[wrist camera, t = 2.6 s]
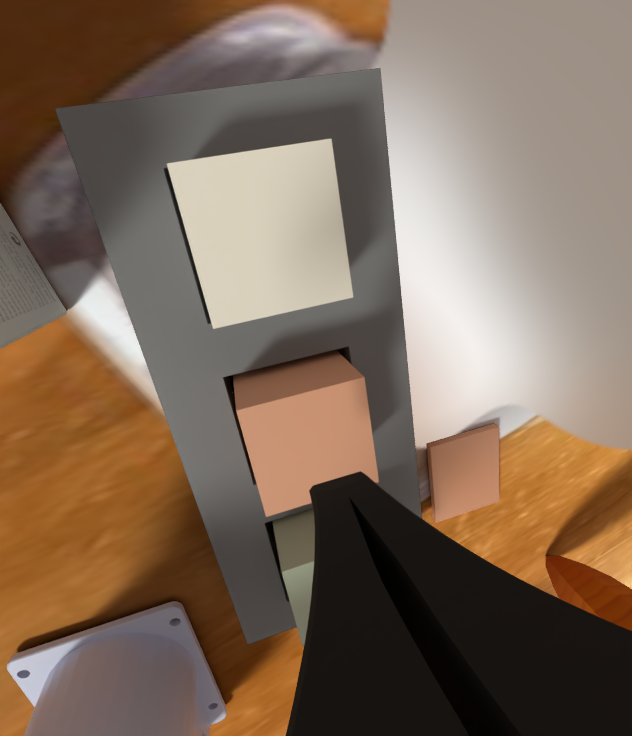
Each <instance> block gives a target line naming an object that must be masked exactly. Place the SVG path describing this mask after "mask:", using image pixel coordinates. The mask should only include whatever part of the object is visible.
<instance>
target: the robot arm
mask: <svg viewBox="0 0 632 736" xmlns="http://www.w3.org/2000/svg"><path fill="white" fill-rule="evenodd" d="M309 493H310V497H311V502H312V506H313V511H314V523H315V553H314V570H313V582H312V594H311V603H310V611H309V619H308V626H307V632H306V638H305V645H304V651H303V656H302V662H301V667H300V672H299V677H298V682H297V687H296V692H295V697H294V702H293V706H292V711H291V716H290V720H289V724H288V729H287V733H286V736H632V631H631V630H628V629H626V628H623V627H621V626H618V625H616V624H614V623H611V622H609V621H607V620H605V619H602V618H600V617H598V616H596V615H594V614H591V613H589V612H587V611H585V610H583V609H581V608H578V607H576V606H574V605H572V604H570V603H568V602H565V601H563V600H561V599H559V598H557V597H554V596H552V595H550V594H548V593H546V592H544V591H542V590H540V589H538V588H536V587H534V586H532V585H530V584H528V583H526V582H524V581H522V580H520V579H518V578H517V577H515V576H513V575H511V574H509V573H507V572H506V571H504V570H502V569H500V568H498V567H497V566H495V565H493V564H491V563H489V562H488V561H486V560H484V559H483V558H481V557H479V556H478V555H476V554H474V553H473V552H471V551H469V550H468V549H466V548H465V547H463V546H461V545H460V544H458V543H457V542H455V541H454V540H452V539H451V538H449V537H447V536H446V535H444V534H443V533H441V532H440V531H439V530H437V529H436V528H434V527H433V526H431V525H430V524H428V523H427V522H426V521H424V520H423V519H422V518H420V517H419V516H417V515H416V514H415V513H413V512H412V511H410V510H409V509H408V508H406V507H405V506H404V505H402V504H401V503H400V502H399V501H397V500H396V499H395V498H393V497H392V496H391V495H390V494H388V493H387V492H386V491H385V490H384V489H382V488H381V487H380V486H379V485H377V484H376V483H375V482H374V481H373V480H372V479H370V478H369V477H368V476H367V475H366V474H364V473H363V472H361V471H359V472H356V473H353V474H350V475H346V476H343V477H340V478H336V479H333V480H330V481H326V482H323V483H320V484H316V485H313V486H312V487H311V489H310V490H309ZM174 618H178V619H174ZM7 670H8V671H9V673H10V674H11V676H12V677H13V678H14V680H15V681H16V682H17V684H18V685H19V686H20V688H21V689H22V691H23V692H24V693H25V695H26V696H27V697H28V699H29V700H30V702H31V703H32V704H33V706H34V707H35V708H34V711H33V713H32V716H31V718H30V721H29V723H28V726H27V728H26V731H25V733H24V736H209V730H210V725H212V724H214V723H217V722H219V721H221V720H223V719H224V718H225V717H226V705H225V703H224V700H223V698H222V696H221V693H220V691H219V689H218V686H217V684H216V682H215V679H214V677H213V675H212V672H211V670H210V668H209V665H208V663H207V661H206V658H205V656H204V654H203V651H202V649H201V647H200V644H199V642H198V640H197V637H196V635H195V632H194V630H193V628H192V625H191V623H190V621H189V618H188V616H187V614H186V611H185V609H184V607H183V605H182V604H181V603H179V602H176V601H173V602H169V603H166V604H163V605H160V606H157V607H154V608H151V609H148V610H145V611H142V612H139V613H136V614H133V615H130V616H127V617H124V618H121V619H118V620H115V621H112V622H109V623H106V624H103V625H100V626H97V627H94V628H91V629H88V630H85V631H82V632H79V633H76V634H73V635H70V636H67V637H64V638H61V639H58V640H55V641H52V642H49V643H46V644H43V645H40V646H37V647H34V648H31V649H28V650H25V651H22V652H19V653H16V654H14V655H13V656H12V657H11V658H10V660H9V662H8V665H7Z"/></svg>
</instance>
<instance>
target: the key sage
mask: <svg viewBox="0 0 632 736" xmlns="http://www.w3.org/2000/svg"><path fill="white" fill-rule="evenodd" d="M272 523H273V528H274V534H275V539H276V544H277V550H278V555H279V561H280V566H281V572H282V575H283V579H284V582H285V586H286V590H287V593H288V597H289V600H290V604H291V607H292V611H293V614H294V618H295V621H296V625H297V629H298V632H299V636H300V639H301V643H302V646H304V645H305V638H306V632H307V626H308V619H309V611H310V603H311V594H312V582H313V570H314V553H315V523H314V511H313V508H311V509H308V510H305V511H302V512H298V513H295V514H292V515H289V516H286V517H282V518H279V519H276V520H273V521H272Z"/></svg>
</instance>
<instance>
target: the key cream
mask: <svg viewBox="0 0 632 736" xmlns="http://www.w3.org/2000/svg"><path fill="white" fill-rule="evenodd" d="M167 167H168V170H169V174H170V177H171V181H172V185H173V188H174V192H175V195H176V199H177V202H178V206H179V209H180V213H181V216H182V220H183V224H184V227H185V231H186V234H187V238H188V241H189V245H190V248H191V252H192V256H193V259H194V263H195V266H196V270H197V273H198V277H199V280H200V284H201V288H202V291H203V295H204V298H205V302H206V305H207V309H208V312H209V316H210V320H211V323H212V327H213V329H215V328H220V327H224V326H229V325H233V324H237V323H242V322H246V321H251V320H255V319H260V318H264V317H269V316H273V315H278V314H282V313H286V312H291V311H295V310H300V309H304V308H309V307H313V306H318V305H322V304H326V303H331V302H335V301H340V300H344V299H349V298H353V291H352V284H351V276H350V269H349V262H348V255H347V248H346V240H345V233H344V226H343V219H342V212H341V204H340V197H339V190H338V183H337V175H336V168H335V161H334V154H333V147H332V139H324V140H318V141H311V142H305V143H298V144H292V145H285V146H278V147H272V148H265V149H259V150H252V151H246V152H239V153H233V154H226V155H219V156H213V157H206V158H200V159H193V160H187V161H180V162H173V163H167Z"/></svg>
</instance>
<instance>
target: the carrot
mask: <svg viewBox="0 0 632 736" xmlns="http://www.w3.org/2000/svg"><path fill="white" fill-rule="evenodd" d="M546 568H547V571H548V574H549V576H550V579H551V582H552V584H553V587H554V589H555V591H556V593H557V595H558V597H559V599H561V600H563V601H565V602H568V603H570V604H572V605H574V606H576V607H578V608H581V609H583V610H585V611H587V612H589V613H591V614H594V615H596V616H598V617H600V618H602V619H605V620H607V621H609V622H611V623H614V624H616V625H618V626H621V627H623V628H626V629H628V630H631V631H632V589H630V588H629V587H627V586H625V585H624V584H622V583H621V582H619V581H617V580H616V579H614V578H612V577H611V576H609V575H606V574H604V573H602V572H600V571H598V570H596V569H593V568H591V567H589V566H587V565H585V564H582V563H579V562H576V561H573V560H570V559H567V558H564V557H562V556H546Z"/></svg>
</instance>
